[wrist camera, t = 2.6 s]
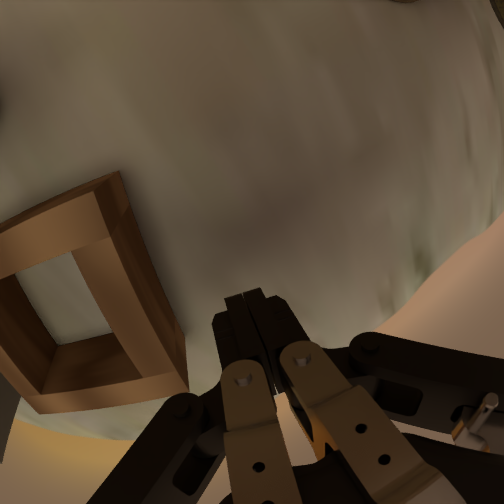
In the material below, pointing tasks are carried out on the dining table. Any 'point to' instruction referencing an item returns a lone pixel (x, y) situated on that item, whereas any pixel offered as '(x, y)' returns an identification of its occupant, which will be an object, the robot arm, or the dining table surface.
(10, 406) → the slate wall
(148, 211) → the dining table surface
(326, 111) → the dining table surface
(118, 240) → the walnut block
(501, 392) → the robot arm
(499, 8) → the thermos
